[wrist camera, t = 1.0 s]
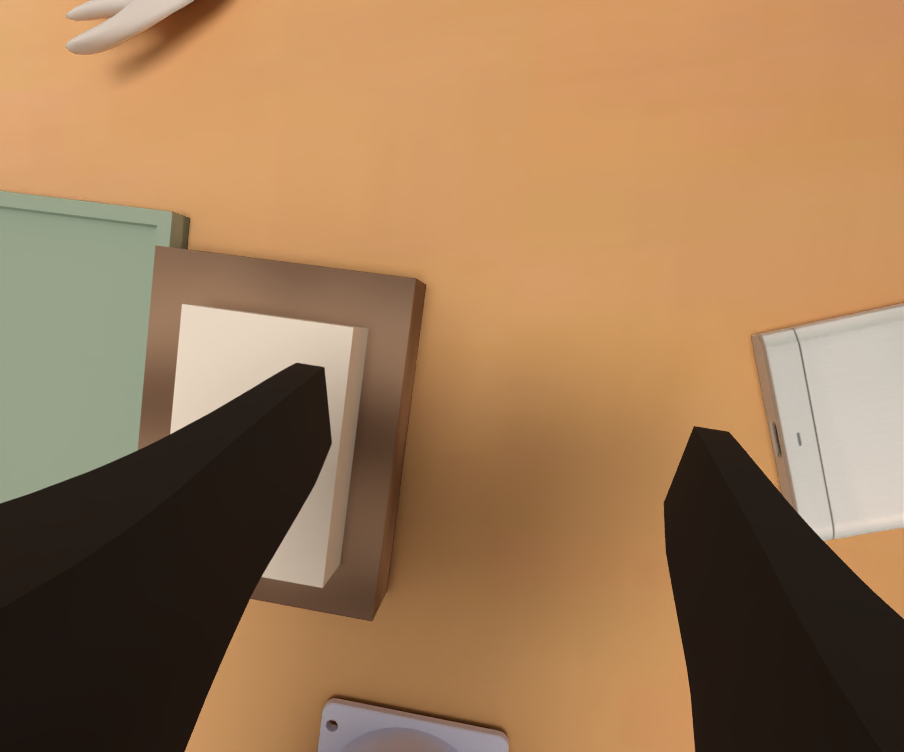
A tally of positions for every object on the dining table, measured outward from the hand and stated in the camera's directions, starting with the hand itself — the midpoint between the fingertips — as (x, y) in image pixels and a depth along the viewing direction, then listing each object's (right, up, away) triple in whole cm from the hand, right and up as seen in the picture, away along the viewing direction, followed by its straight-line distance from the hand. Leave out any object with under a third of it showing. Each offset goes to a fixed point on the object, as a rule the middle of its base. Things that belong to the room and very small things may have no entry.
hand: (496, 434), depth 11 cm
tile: (-8, -1, +10) cm, 12 cm away
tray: (-19, +1, +13) cm, 23 cm away
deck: (-8, -1, +12) cm, 15 cm away
